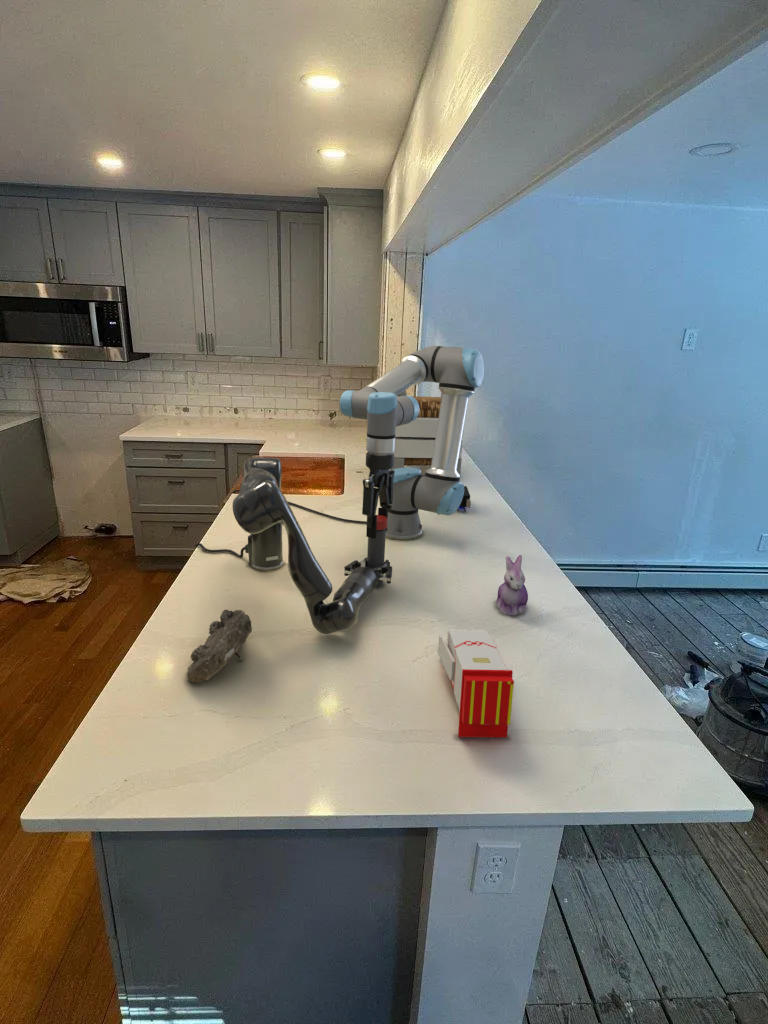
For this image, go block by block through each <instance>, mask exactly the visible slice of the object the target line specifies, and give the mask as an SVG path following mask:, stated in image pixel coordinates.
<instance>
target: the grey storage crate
mask: <svg viewBox="0 0 768 1024" xmlns="http://www.w3.org/2000/svg"><path fill="white" fill-rule="evenodd" d="M440 393H441V392H440ZM407 394H408V393H407V389H406V390H405V391H403V392H402V393H401V394H399V395H398V396H402V395H405V396H408V395H407ZM411 396H412V397H414V398H415V399H416V400H417V402H418V404H419V408H420V411H419V415H418V417H417V418H416V419H415V420H414V421H412V422H410V423H407V424H403V425H400V426H396V431H395V451H394V452H393V454H394V466H393V468H391V469H390V470H393V469H397V468H405V466H406V467H409V466H411V467H417V466H418V467H431V462H432V456H433V450H434V443H435V437H436V431H437V424H438V418H439V412H440V405H441V399H442V393H441V394H440V396H415V395H414V396H413V395H411ZM464 429H465V427H464V428H463V434H462V440H461V446H460V452H459V458H458V464H457V472H458V474H459V475H460V476H461V472H462V461H463V460H462V453H463V442H464V441H463V438H464V431H465V430H464ZM459 482H461V479H460V480H459Z"/></svg>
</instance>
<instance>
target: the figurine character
mask: <svg viewBox="0 0 768 1024" xmlns="http://www.w3.org/2000/svg"><path fill="white" fill-rule="evenodd" d="M471 501H472V500H471V494H470V491H469V488H468V486H467V485H464V495H463V498H462V501H461V504H460V506H459V507H458V509H457V510H456V512H460V510H463V511H464V513H466V512H467V509H470V508H471V505H472V504H471ZM466 508H467V509H466Z"/></svg>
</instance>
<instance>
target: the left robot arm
mask: <svg viewBox="0 0 768 1024" xmlns="http://www.w3.org/2000/svg"><path fill="white" fill-rule="evenodd" d="M282 468H283V467H282V463H281V459H280V458H278V457H249V458H247V459H246V460H245V461H244V464H243V467H242V479H241V482H240V487H239V490H240V491H239V492H238V494H237V495H236V496H235V498H233V501H232V513H233V516H234V519H235V521H236V523H237V524H238V526H239V527H240V528H241V529H242V530H243V531H244V532H246V533H248V534H249V535H248V536H247V543H246V544H245V545H244V546H243V547H242V548H241V549H240V554H238V553H237V552H235V551H234V550H232V549H228V548H227V549H226V548H222V549H221V548H220V549H208V548H206V547H205V546H204V545H203V543H201V542H198V543H196V544H195V545H194V547H196V548H198V547H200V548H201V549H202V550H203V551H204V552H206V553H230V554H232V555H234V556H235V557H237V558H239V559H241V558H243V557H244V551H245V553H246V554H248V566H249V567H251V568H253V569H254V570H257V571H263V572H267V571H268V572H269V571H274V570H277V569H279V568H281V567H282V566H283V565H284V557H283V526H284V528H285V531H286V535H287V536H286V537H287V548H288V549H287V568H288V573H289V576H290V578H291V580H292V582H293V584H294V585H295V587H296V588H297V590H298V591H299V593H300V595H301V596H302V598H303V599H304V602H305V604H306V607H307V610H308V613H309V618H310V621H311V624H312V627H313V628H314V629H315V631H316V632H318V633H320V634H321V635H331V634H334V633H338V632H341V631H345V630H348V629H350V628H352V627H354V625H355V624H356V623H357V622H358V617H359V612H360V608H361V607H362V605H363V604H364V603H365V602H366V601H367V600H368V598H369V597H370V596H371V595H372V593H373V592H374V590H375V589H376V588H375V587H376V585H377V583H379V582H381V581H383V582H386V584H389V585H390V584H392V579H393V578H392V577H393V566H391V561H390V560H389V559H384V563H383V565H381V566H379V565H378V566H376V567H374V568H370V567H367V557H364V558H363V559H362V560H360V561H359V560H353V561H352V562H350V563H348V564H346V565H344V568H343V576H345V577H346V578H345V579H344V581H343V582H342V584H341V586H340V587H339V588H338V589H337V590H336V591H335V593H334V595H333V597H332V601H329V602H327V603H325V602H324V600H327V599H328V597H330V596H331V594H332V593H333V584H332V583H331V581H330V579H329V577H328V576H327V574H326V573H325V571H324V569H323V568H322V566H321V565H320V563H319V562H318V560H317V558H316V556H315V554H314V552H313V551H312V549H311V547H310V544H309V543H308V540H307V538H306V535H305V534H304V531H303V529H302V527H301V526H300V525H301V524H300V523H299V521H298V519H297V517H296V516H295V514H294V511H293V509H292V507H291V506H290V504H288V502H289V501H288V502H287V498H286V496H285V495H284V493H283V492H282V478H283V476H282V475H283V469H282ZM282 522H283V523H282ZM383 575H384V576H383Z"/></svg>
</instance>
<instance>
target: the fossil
mask: <svg viewBox="0 0 768 1024" xmlns="http://www.w3.org/2000/svg"><path fill="white" fill-rule="evenodd" d="M219 619H220V620H216V621H213V622H211V623H210V624H209V629H208V631H209V632H208V634H209V635H208V636H207V638H206V640H205V642H204V643H203V644H199V645H198V646H197V648H195V649H193V650H192V652H191V654H190V659H191V661H192V663H191V664H190V666H188V667H187V668H186V669H187V671H186V676H187V681H192V682H193V683H200V682H204V681H208V680H210V679H211V678H212V677H213V676H214V675H216V673H218V672H219V671H220V670H221V669H222V668H223V667H224V666H225V665H226V664H227V663H229V662H230V660H231V658H232V657H233V656H234V655H235V656H236V657H237V658H238V659H239V660H241V659H242V656H241V655H240V654H239V653H238V650H239V649H240V647H244V646H243V645H245V643H246V642H247V639H248V637H249V635H250V634H251V633H252V631H253V627H252V624H253V623H252V620H251V618H250V616H249V614H248V613H245V612H244V611H243V610H242V609H235V610H229V609H223V610H222V611H221V613H220V616H219Z"/></svg>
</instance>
